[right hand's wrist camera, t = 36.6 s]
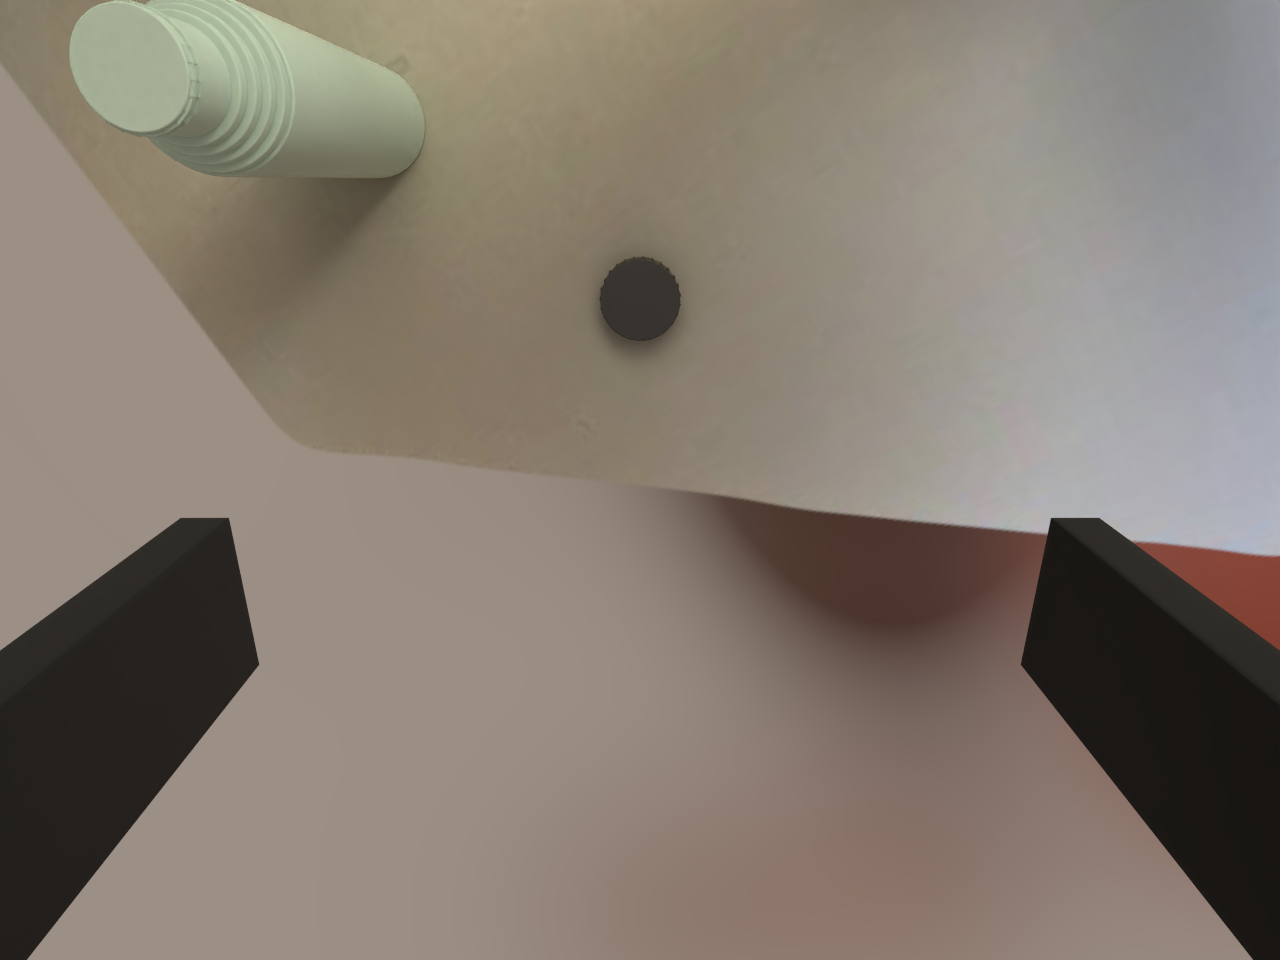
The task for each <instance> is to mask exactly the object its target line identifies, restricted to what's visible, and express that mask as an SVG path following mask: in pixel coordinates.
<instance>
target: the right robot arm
mask: <svg viewBox="0 0 1280 960" xmlns="http://www.w3.org/2000/svg"><path fill="white" fill-rule="evenodd" d="M258 665H259V662H258V657H257V652H256V647H255V642H254V637H253V633H252V628H251V623H250V618H249V613H248V608H247V604H246V599H245V594H244V589H243V584H242V579H241V575H240V570H239V565H238V560H237V555H236V551H235V546H234V541H233V536H232V531H231V526H230V521H229V518H180V519H179V520H178V521H176V522H175V523H174V524H172V525H171V526H169V527H168V528H167V529H165V530H164V531H163V532H161V533H160V534H158V535H157V536H156V537H154V538H153V539H152V540H150V541H149V542H148V543H146V544H145V545H143V546H142V547H141V548H139V549H138V550H137V551H135V552H134V553H133V554H131V555H130V556H128V557H127V558H126V559H124V560H123V561H122V562H120V563H119V564H118V565H116V566H115V567H114V568H112V569H111V570H109V571H108V572H107V573H105V574H104V575H103V576H101V577H100V578H99V579H97V580H96V581H94V582H93V583H92V584H90V585H89V586H88V587H86V588H85V589H84V590H82V591H81V592H80V593H78V594H77V595H75V596H74V597H73V598H71V599H70V600H69V601H67V602H66V603H65V604H63V605H62V606H60V607H59V608H58V609H56V610H55V611H54V612H52V613H51V614H49V615H48V616H47V617H45V618H44V619H43V620H41V621H40V622H39V623H37V624H36V625H35V626H33V627H32V628H30V629H29V630H28V631H26V632H25V633H24V634H22V635H21V636H20V637H18V638H17V639H15V640H14V641H13V642H11V643H10V644H9V645H7V646H6V647H5V648H3V649H2V650H0V960H27V959H28V957H29V956H30V955H31V954H32V952H33V951H34V950H35V949H36V947H37V946H38V945H39V943H40V942H41V941H42V940H43V938H44V937H45V936H46V935H47V933H48V932H49V931H50V930H51V928H52V927H53V926H54V924H55V923H56V922H57V921H58V919H59V918H60V917H61V915H62V914H63V913H64V912H65V910H66V909H67V908H68V907H69V905H70V904H71V903H72V902H73V900H74V899H75V898H76V896H77V895H78V894H79V893H80V891H81V890H82V889H83V888H84V886H85V885H86V884H87V882H88V881H89V880H90V879H91V877H92V876H93V875H94V874H95V872H96V871H97V870H98V869H99V867H100V866H101V865H102V864H103V862H104V861H105V860H106V858H107V857H108V856H109V855H110V853H111V852H112V851H113V850H114V848H115V847H116V846H117V844H118V843H119V842H120V841H121V839H122V838H123V837H124V836H125V834H126V833H127V832H128V830H129V829H130V828H131V827H132V825H133V824H134V823H135V822H136V820H137V819H138V818H139V816H140V815H141V814H142V813H143V811H144V810H145V809H146V808H147V806H148V805H149V804H150V803H151V801H152V800H153V799H154V797H155V796H156V795H157V794H158V792H159V791H160V790H161V789H162V787H163V786H164V785H165V783H166V782H167V781H168V780H169V778H170V777H171V776H172V775H173V773H174V772H175V771H176V770H177V768H178V767H179V766H180V764H181V763H182V762H183V761H184V759H185V758H186V757H187V755H188V754H189V753H190V752H191V750H192V749H193V748H194V747H195V745H196V744H197V743H198V742H199V740H200V739H201V738H202V736H203V735H204V734H205V733H206V731H207V730H208V729H209V728H210V726H211V725H212V724H213V722H214V721H215V720H216V719H217V717H218V716H219V715H220V714H221V712H222V711H223V710H224V709H225V707H226V706H227V705H228V703H229V702H230V701H231V700H232V698H233V697H234V696H235V695H236V693H237V692H238V691H239V690H240V688H241V687H242V686H243V684H244V683H245V682H246V681H247V679H248V678H249V677H250V676H251V674H252V673H253V672H254V670H255V669H256V668H257V667H258ZM1021 665H1022V667H1023V668H1024V669H1025V670H1026V672H1027V673H1028V674H1029V676H1030V677H1031V678H1032V679H1033V681H1034V682H1035V683H1036V684H1037V686H1038V687H1039V688H1040V689H1041V691H1042V692H1043V693H1044V695H1045V696H1046V697H1047V698H1048V700H1049V701H1050V702H1051V703H1052V705H1053V706H1054V707H1055V709H1056V710H1057V711H1058V712H1059V714H1060V715H1061V716H1062V717H1063V719H1064V720H1065V721H1066V723H1067V724H1068V725H1069V726H1070V728H1071V729H1072V730H1073V731H1074V733H1075V734H1076V735H1077V736H1078V738H1079V739H1080V740H1081V742H1082V743H1083V744H1084V745H1085V747H1086V748H1087V749H1088V750H1089V752H1090V753H1091V754H1092V756H1093V757H1094V758H1095V759H1096V761H1097V762H1098V763H1099V764H1100V766H1101V767H1102V768H1103V770H1104V771H1105V772H1106V773H1107V775H1108V776H1109V777H1110V778H1111V780H1112V781H1113V782H1114V783H1115V785H1116V786H1117V787H1118V789H1119V790H1120V791H1121V792H1122V794H1123V795H1124V796H1125V797H1126V799H1127V800H1128V801H1129V803H1130V804H1131V805H1132V806H1133V808H1134V809H1135V810H1136V811H1137V813H1138V814H1139V815H1140V817H1141V818H1142V819H1143V820H1144V822H1145V823H1146V824H1147V825H1148V827H1149V828H1150V829H1151V830H1152V832H1153V833H1154V834H1155V836H1156V837H1157V838H1158V839H1159V841H1160V842H1161V843H1162V844H1163V846H1164V847H1165V848H1166V850H1167V851H1168V852H1169V853H1170V855H1171V856H1172V857H1173V858H1174V860H1175V861H1176V862H1177V863H1178V865H1179V866H1180V867H1181V869H1182V870H1183V871H1184V872H1185V874H1186V875H1187V876H1188V877H1189V879H1190V880H1191V881H1192V883H1193V884H1194V885H1195V886H1196V888H1197V889H1198V890H1199V891H1200V893H1201V894H1202V895H1203V897H1204V898H1205V899H1206V900H1207V902H1208V903H1209V904H1210V905H1211V907H1212V908H1213V909H1214V910H1215V912H1216V913H1217V914H1218V916H1219V917H1220V918H1221V919H1222V921H1223V922H1224V923H1225V924H1226V926H1227V927H1228V928H1229V929H1230V931H1231V932H1232V933H1233V935H1234V936H1235V937H1236V938H1237V940H1238V941H1239V942H1240V944H1241V945H1242V946H1243V947H1244V949H1245V950H1246V951H1247V952H1248V954H1249V955H1250V956H1251V957H1252V959H1253V960H1280V650H1278V649H1277V648H1275V647H1274V646H1273V645H1271V644H1270V643H1269V642H1267V641H1266V640H1265V639H1263V638H1262V637H1260V636H1259V635H1258V634H1256V633H1255V632H1254V631H1252V630H1251V629H1250V628H1248V627H1247V626H1245V625H1244V624H1243V623H1241V622H1240V621H1239V620H1237V619H1236V618H1235V617H1233V616H1232V615H1230V614H1229V613H1228V612H1226V611H1225V610H1224V609H1222V608H1221V607H1220V606H1218V605H1217V604H1216V603H1214V602H1213V601H1211V600H1210V599H1209V598H1207V597H1206V596H1205V595H1203V594H1202V593H1201V592H1199V591H1198V590H1196V589H1195V588H1194V587H1192V586H1191V585H1190V584H1188V583H1187V582H1186V581H1184V580H1183V579H1181V578H1180V577H1179V576H1177V575H1176V574H1175V573H1173V572H1172V571H1171V570H1169V569H1168V568H1167V567H1165V566H1164V565H1162V564H1161V563H1160V562H1158V561H1157V560H1156V559H1154V558H1153V557H1151V556H1150V555H1149V554H1147V553H1146V552H1145V551H1143V550H1142V549H1141V548H1139V547H1138V546H1137V545H1135V544H1134V543H1132V542H1131V541H1130V540H1128V539H1127V538H1126V537H1124V536H1123V535H1122V534H1120V533H1119V532H1118V531H1116V530H1115V529H1113V528H1112V527H1111V526H1109V525H1108V524H1107V523H1105V522H1104V521H1103V520H1101V519H1100V518H1051V521H1050V526H1049V531H1048V536H1047V541H1046V545H1045V550H1044V555H1043V560H1042V565H1041V570H1040V575H1039V579H1038V584H1037V589H1036V594H1035V599H1034V604H1033V608H1032V613H1031V618H1030V623H1029V628H1028V633H1027V638H1026V642H1025V647H1024V652H1023V657H1022V662H1021Z"/></svg>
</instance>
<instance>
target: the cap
mask: <svg viewBox="0 0 1280 960" xmlns="http://www.w3.org/2000/svg"><path fill="white" fill-rule="evenodd" d="M678 287H679V285H678V284H677V283H676V281H675V276H674V275H672V274H671V272H670V271H669V268H666V267H665V266H664V265H662V263H661V262H660V263H659V262H658V261H655V260H653V258H652V259H649V258H644V256H643V257H637V258H635V257H633V258H631V259H628V260H626V259H625V260H624V261H623V262H621V263H620V264H616V267H614V268H613V270H612V271H611V270H610V271H609V274H608V276H607V278H605V279H604V285H603V287H602V288H601V291H602V292H601V297H600V300H601V309H602V313H603V315H604V318H605V320H606V321H607V323H608V324H609V326H610V327H611V328H612V329H613V330H614V331H615V332H616V333H618V334H619V335H621V336H623V337H625V338H628V339H631V340H637V341H644V340H650V339H653V338H656V337H658V336H660V335H661V334H663V333H664V332H665V331H667V330H668V329H669V328H670V327H671V325H672V324H673V323H674V321H675V319H676V317H677V315H678V311H679V307H680V297H681V295H680V293H679V289H678Z"/></svg>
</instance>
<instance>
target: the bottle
mask: <svg viewBox="0 0 1280 960" xmlns="http://www.w3.org/2000/svg"><path fill="white" fill-rule="evenodd" d="M69 60H70V67H71V71H72V75H73V77H74V80H75V83H76V85H77V87H78V89H79V91H80V93H81V94H82V96H83V97H84V99H85V100H86V101H87V103H88V104H89V105H90V106H91V108H92V109H93V110H94V111H95V112H96V113H97V114H99V115H100V116H101V117H102V118H103V119H104V120H105V121H106V122H107V123H109V124H110V125H112V126H114V127H116V128H117V129H119V130H121V131H122V132H126V133H129V134H132V135H136V136H144V137H148V138H149V139H150V140H151V141H152V142H153V143H154V144H155V145H156V146H157V147H158V148H159V149H160V150H162V151H163V152H164V153H165V154H167V155H168V156H170V157H171V158H173V159H174V160H176V161H178V162H180V163H181V164H183V165H185V166H187V167H189V168H191V169H193V170H196V171H198V172H201V173H204V174H209V175H213V176H222V177H303V178H386V177H391V176H394V175H397V174H399V173H401V172H403V171H404V170H405V169H407V168H408V167H409V166H410V165H411V164H412V163H413V162H414V160H415V159H416V158H417V156H418V154H419V152H420V150H421V147H422V145H423V141H424V134H425V121H424V115H423V111H422V107H421V105H420V102H419V100H418V98H417V96H416V94H415V92H414V91H413V89H412V88H411V87H410V86H409V84H408V83H407V82H406V81H405V80H404V79H403V78H402V77H401V76H399V75H398V74H396V73H395V72H393V71H392V70H390V69H388V68H386V67H384V66H381V65H379V64H377V63H375V62H372V61H370V60H368V59H366V58H363V57H361V56H359V55H357V54H354V53H352V52H350V51H348V50H345V49H343V48H341V47H339V46H336V45H334V44H332V43H330V42H328V41H325V40H323V39H321V38H319V37H316V36H314V35H312V34H310V33H307V32H305V31H303V30H301V29H298V28H296V27H294V26H292V25H289V24H287V23H285V22H283V21H280V20H278V19H276V18H274V17H271V16H269V15H267V14H265V13H262V12H260V11H258V10H256V9H254V8H251V7H249V6H247V5H245V4H242V3H240V2H238V1H236V0H151V1H149V2H148V3H146V4H145V5H144V4H141V3H138V2H134V1H118V0H114V1H111V2H106V3H101V4H99V5H96V6H94V7H93V8H91V9H89V10H88V11H87V12H85V13H84V14H83V15H82V16H81V18H80V19H79V20H78V22H77V23H76V25H75V27H74V29H73V32H72V34H71V39H70V44H69Z"/></svg>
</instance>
